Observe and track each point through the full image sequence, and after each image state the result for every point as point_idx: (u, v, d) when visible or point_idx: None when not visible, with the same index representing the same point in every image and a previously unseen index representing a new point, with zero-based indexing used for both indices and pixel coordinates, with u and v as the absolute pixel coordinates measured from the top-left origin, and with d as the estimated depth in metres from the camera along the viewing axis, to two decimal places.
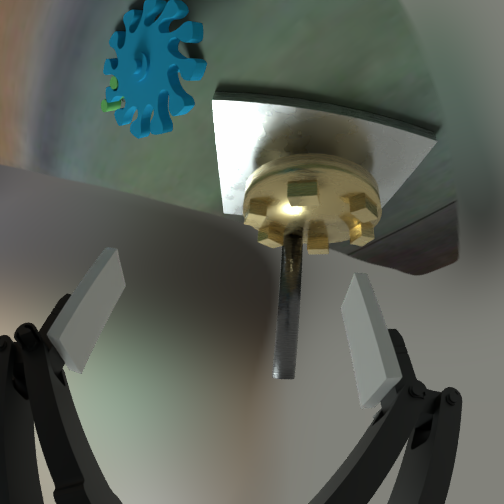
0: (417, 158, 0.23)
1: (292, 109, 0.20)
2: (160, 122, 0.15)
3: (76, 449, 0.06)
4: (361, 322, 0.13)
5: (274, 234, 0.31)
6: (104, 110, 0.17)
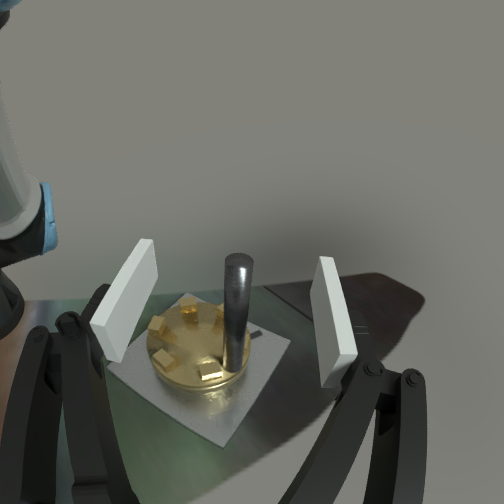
0: (198, 301, 0.48)
1: (135, 341, 0.39)
2: None
3: (105, 447, 0.07)
4: (323, 302, 0.14)
5: None
6: None
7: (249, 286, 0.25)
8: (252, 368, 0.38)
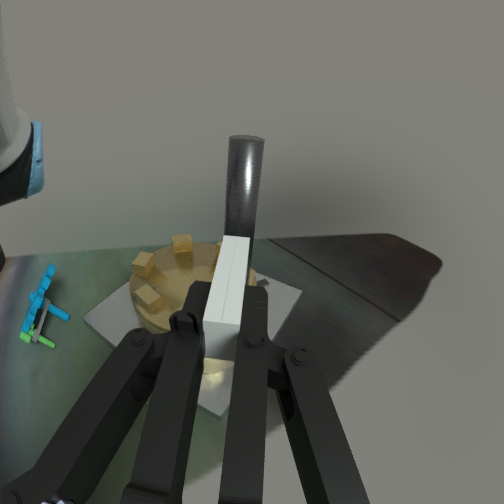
0: None
1: (118, 290, 0.33)
2: (44, 279, 0.25)
3: (179, 457, 0.07)
4: None
5: None
6: (20, 334, 0.22)
7: (259, 172, 0.19)
8: None
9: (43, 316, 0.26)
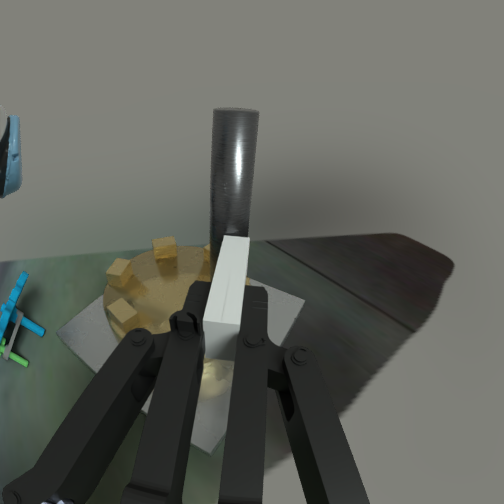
0: None
1: (96, 301, 0.28)
2: None
3: (179, 457, 0.07)
4: None
5: None
6: None
7: (253, 153, 0.14)
8: None
9: (15, 331, 0.21)
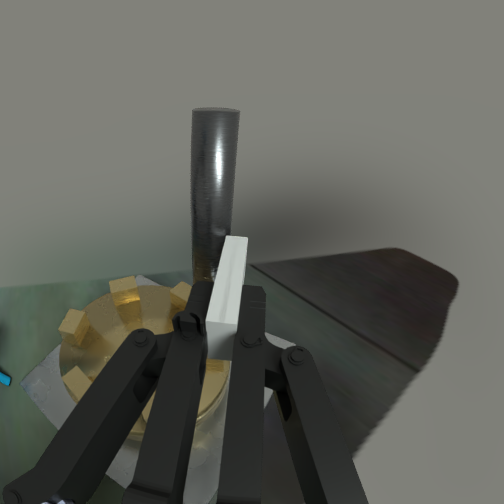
0: None
1: (59, 347, 0.22)
2: None
3: (181, 458, 0.07)
4: None
5: None
6: None
7: None
8: None
9: None
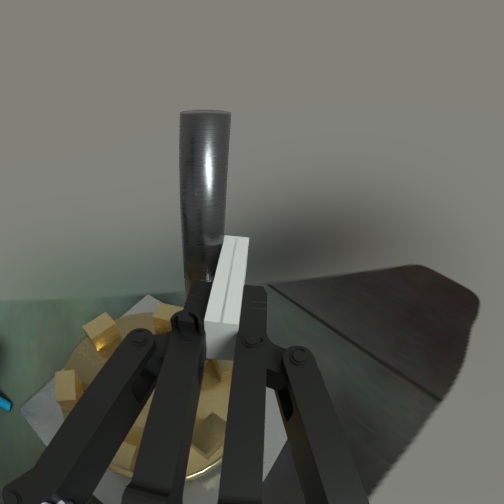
0: None
1: None
2: None
3: (179, 458, 0.07)
4: None
5: (216, 367, 0.18)
6: None
7: None
8: None
9: None
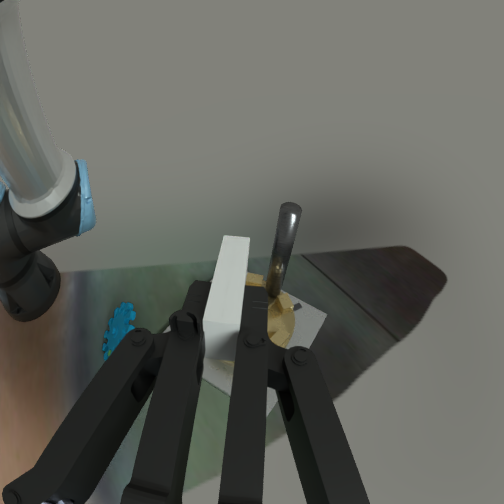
0: None
1: None
2: (127, 325, 0.35)
3: (179, 457, 0.07)
4: None
5: (280, 306, 0.40)
6: None
7: None
8: (292, 341, 0.42)
9: None
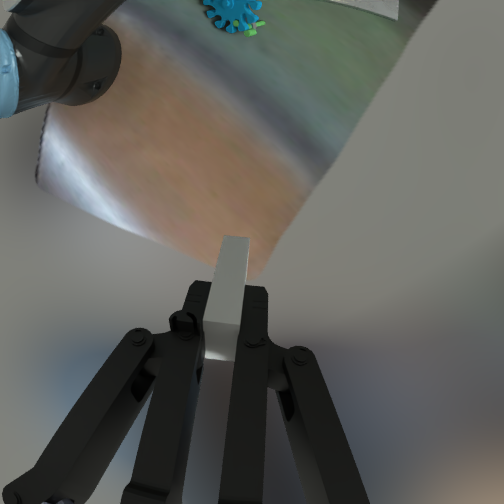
0: None
1: None
2: None
3: (179, 457, 0.07)
4: None
5: None
6: (249, 33, 0.28)
7: None
8: None
9: None
